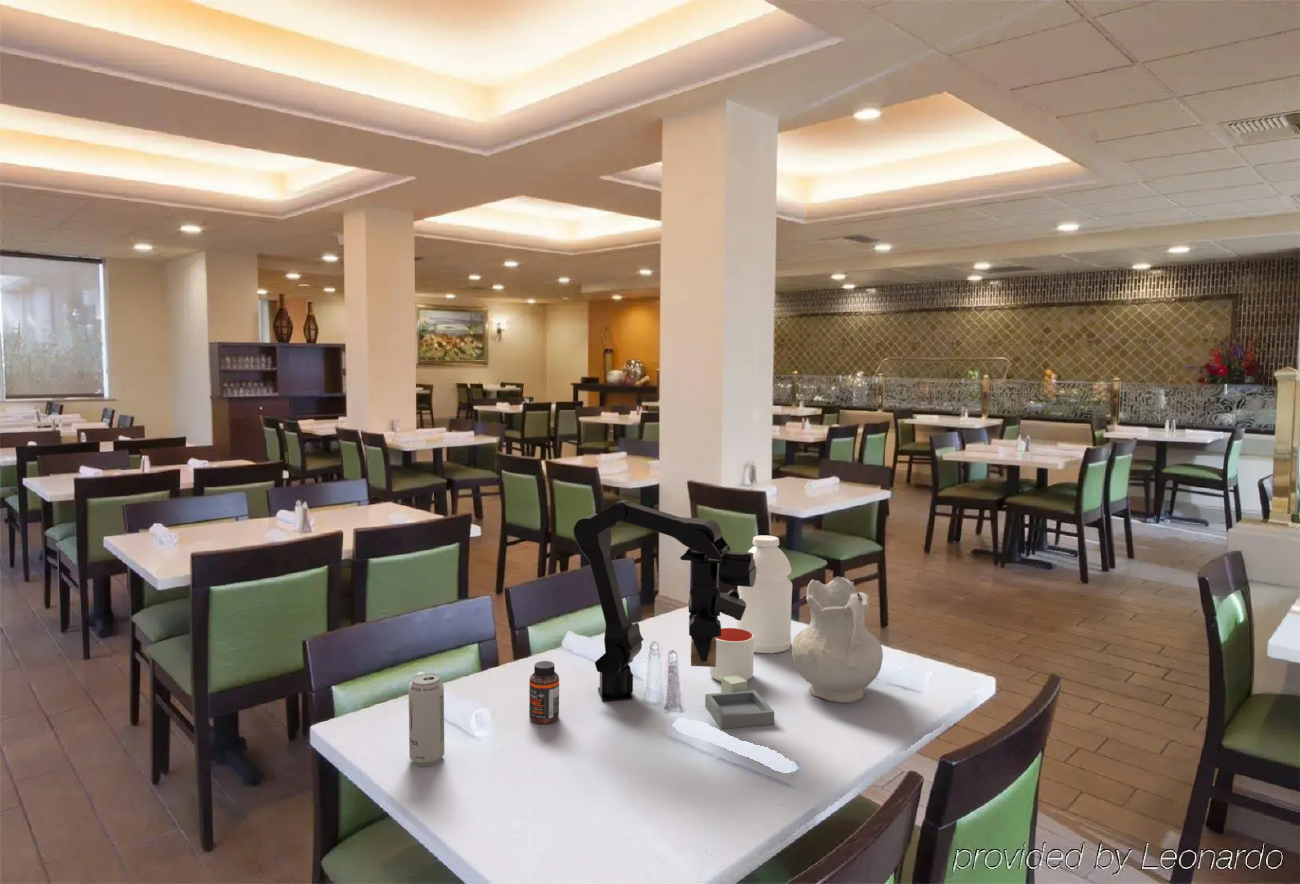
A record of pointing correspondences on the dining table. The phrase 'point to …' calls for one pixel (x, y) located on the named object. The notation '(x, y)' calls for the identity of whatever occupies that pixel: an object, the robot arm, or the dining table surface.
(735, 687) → the sage cube
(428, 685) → the energy drink can
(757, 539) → the bottle
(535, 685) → the supplement bottle
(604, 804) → the dining table surface
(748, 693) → the tray
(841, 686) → the ceramic pitcher
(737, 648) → the cup
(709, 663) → the walnut cube
